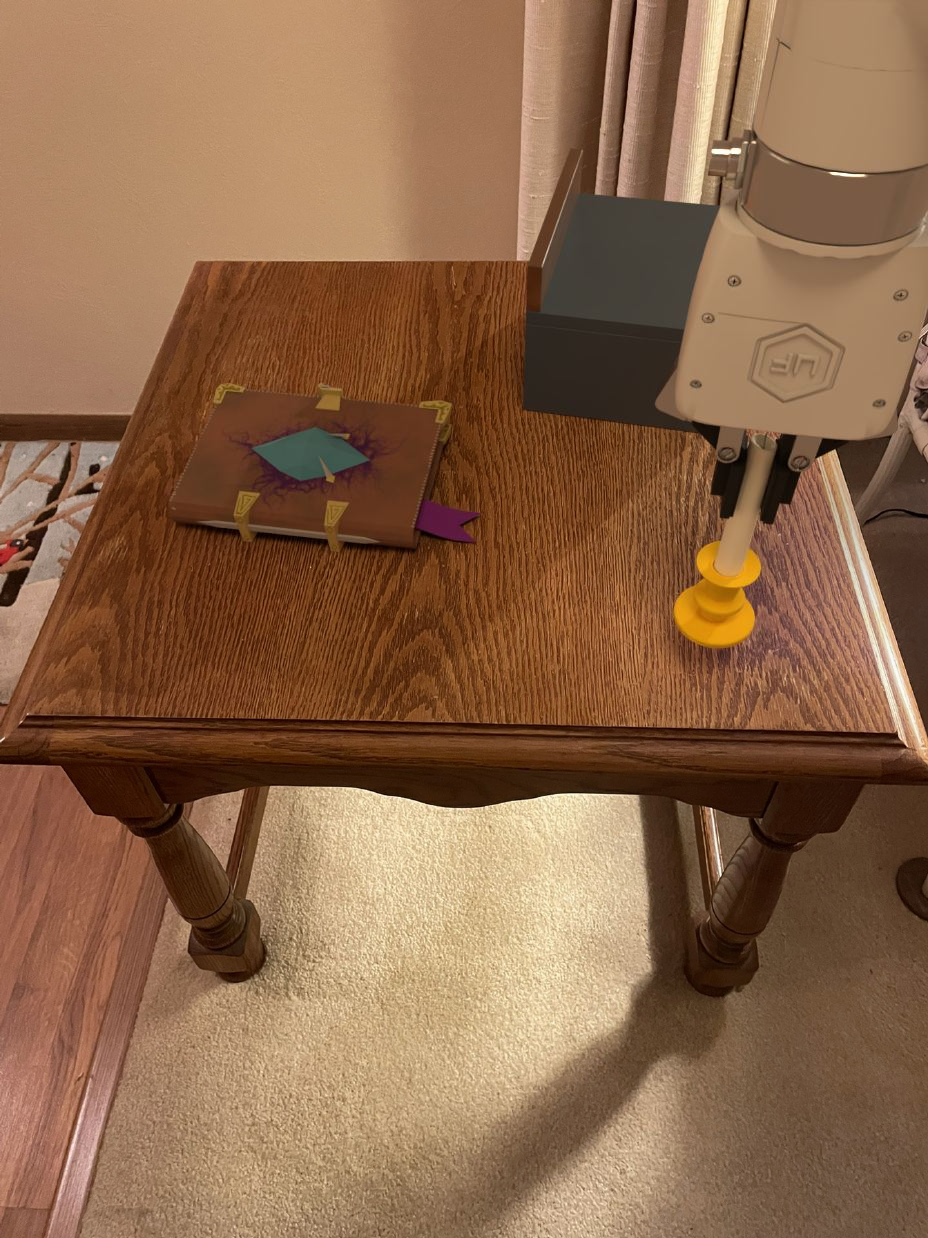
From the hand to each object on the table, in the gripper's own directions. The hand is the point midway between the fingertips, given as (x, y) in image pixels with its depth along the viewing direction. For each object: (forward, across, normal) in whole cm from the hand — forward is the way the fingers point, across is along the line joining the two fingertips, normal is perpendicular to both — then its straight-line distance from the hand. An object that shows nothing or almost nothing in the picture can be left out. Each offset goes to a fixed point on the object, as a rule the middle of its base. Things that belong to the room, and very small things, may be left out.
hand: (747, 502), depth 50 cm
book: (+15, -31, +12) cm, 36 cm away
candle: (+11, 0, 0) cm, 11 cm away
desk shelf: (+15, -10, +34) cm, 39 cm away
